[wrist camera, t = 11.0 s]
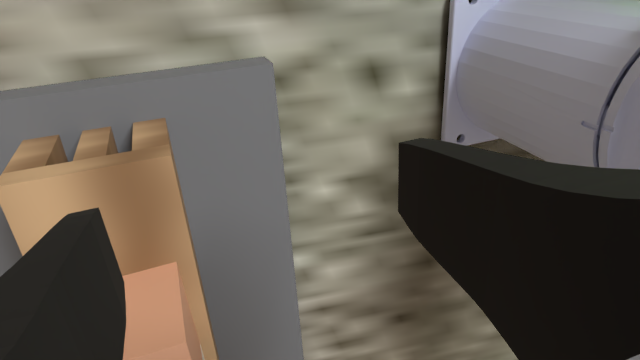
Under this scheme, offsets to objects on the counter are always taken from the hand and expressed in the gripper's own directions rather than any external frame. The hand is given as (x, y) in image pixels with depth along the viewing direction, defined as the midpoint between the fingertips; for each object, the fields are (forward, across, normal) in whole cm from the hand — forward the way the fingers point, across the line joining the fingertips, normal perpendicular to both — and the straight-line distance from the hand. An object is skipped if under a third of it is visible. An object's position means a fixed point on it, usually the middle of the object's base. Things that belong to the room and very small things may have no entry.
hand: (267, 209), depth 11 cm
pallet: (+9, +5, +9) cm, 13 cm away
